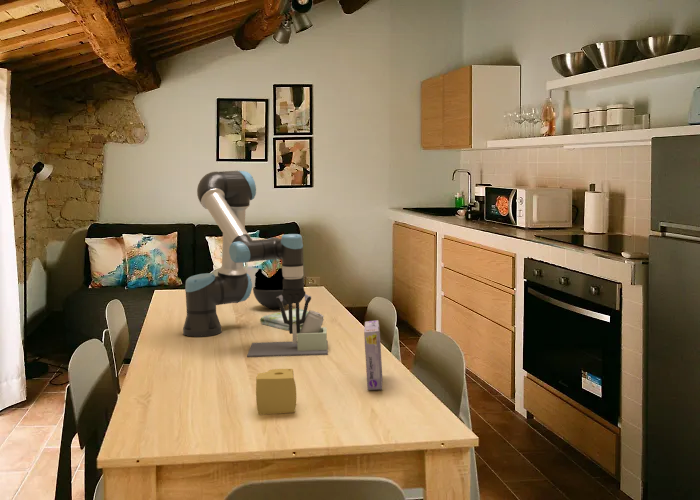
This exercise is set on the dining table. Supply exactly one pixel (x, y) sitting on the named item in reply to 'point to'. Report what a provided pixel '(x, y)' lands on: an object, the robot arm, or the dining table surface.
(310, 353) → the mount
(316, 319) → the beverage can
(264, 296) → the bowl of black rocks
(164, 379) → the dining table surface
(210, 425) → the dining table surface
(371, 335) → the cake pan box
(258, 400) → the cheese
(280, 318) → the towel
